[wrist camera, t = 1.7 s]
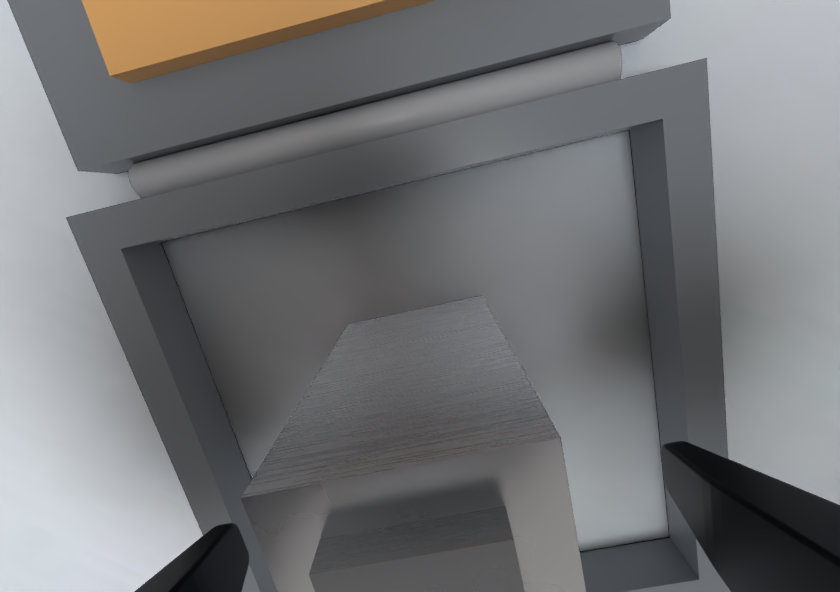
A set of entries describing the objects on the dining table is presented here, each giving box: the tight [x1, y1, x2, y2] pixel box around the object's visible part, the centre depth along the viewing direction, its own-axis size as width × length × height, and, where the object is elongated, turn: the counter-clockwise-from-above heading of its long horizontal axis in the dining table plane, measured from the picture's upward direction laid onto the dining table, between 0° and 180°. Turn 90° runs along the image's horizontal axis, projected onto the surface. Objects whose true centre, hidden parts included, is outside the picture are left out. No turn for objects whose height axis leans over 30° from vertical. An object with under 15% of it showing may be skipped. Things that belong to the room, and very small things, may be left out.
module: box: [241, 296, 586, 592], centre depth 9 cm, size 4×6×8 cm, turn 13°
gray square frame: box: [66, 58, 731, 592], centre depth 12 cm, size 15×15×2 cm
